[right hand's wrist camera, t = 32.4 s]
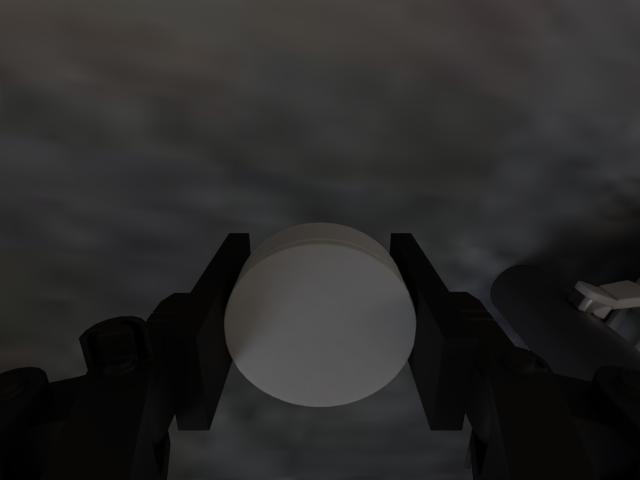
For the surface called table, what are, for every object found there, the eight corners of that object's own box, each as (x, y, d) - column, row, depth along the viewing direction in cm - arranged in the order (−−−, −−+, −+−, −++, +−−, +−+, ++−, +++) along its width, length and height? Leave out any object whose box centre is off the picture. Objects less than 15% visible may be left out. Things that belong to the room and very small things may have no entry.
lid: (371, 382, 13) (378, 423, 12) (222, 347, 13) (207, 385, 11) (429, 248, 12) (448, 274, 10) (257, 200, 11) (246, 219, 9)
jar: (479, 302, 31) (607, 470, 18) (510, 257, 30) (677, 401, 16) (525, 320, 32) (683, 495, 18) (557, 276, 31) (757, 431, 17)
